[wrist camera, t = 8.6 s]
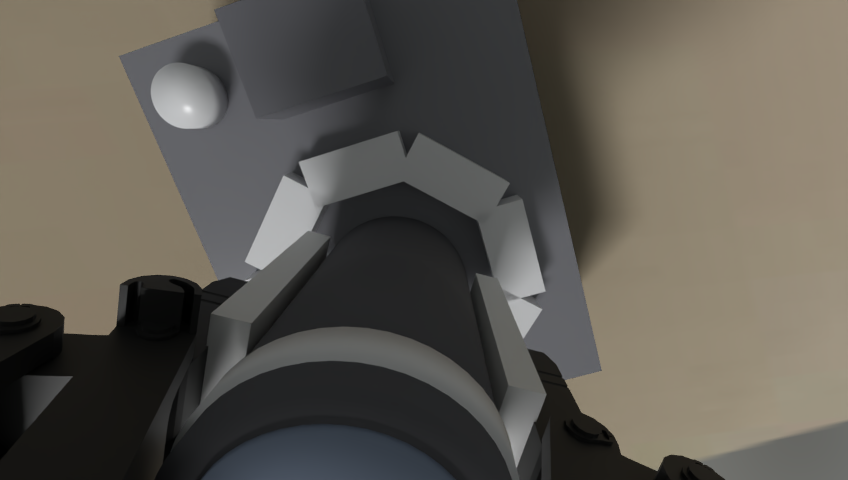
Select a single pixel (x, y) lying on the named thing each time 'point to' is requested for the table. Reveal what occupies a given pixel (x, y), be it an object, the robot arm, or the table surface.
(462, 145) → the camera body
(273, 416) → the lens
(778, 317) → the table surface
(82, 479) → the robot arm
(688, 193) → the table surface
